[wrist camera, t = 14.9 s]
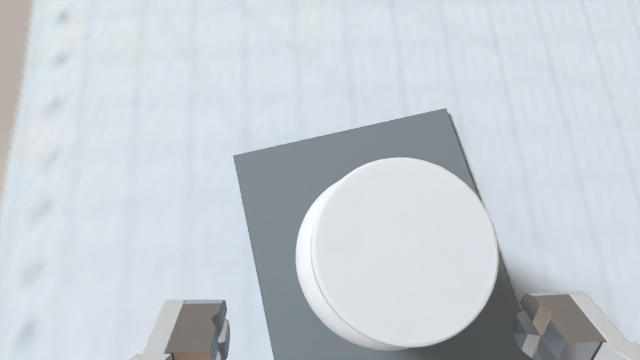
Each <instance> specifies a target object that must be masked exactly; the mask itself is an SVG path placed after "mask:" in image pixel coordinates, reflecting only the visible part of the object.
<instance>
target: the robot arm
mask: <svg viewBox="0 0 640 360" xmlns="http://www.w3.org/2000/svg"><path fill="white" fill-rule="evenodd" d="M520 304H521V305H522V307H523V310H522V311H521V312H519V313H518V314H517V315H516V317H515V320H514V323H513V327H514V335H515V338H516V341H517V343H518V345H519V347H520V349H521V351H523V352H524V353H525V354H527V355H528V356H530V357H531V360H640V345H639V344H638V343H636V342H629V341H628V340H627V339H626V338H625V337H624V336H623V334H622V333H621V332H620V331H619V330H618V329H617V328H616V326H615V325H614V324H613V323H612V322H611V321H610V320H609V318H608V317H607V316H606V315H605V314H604V313H603V312H602V310H601V309H600V308H599V307H598V306H597V305H596V304H595V302H594V301H593V300H592V299H591V298H590V297H589V296H588V295H587V294H585V293H584V292H563V293H561V292H555V293H527V294H526V295H525V296H523V298H522V301H521V303H520ZM226 311H227V308H226V302H225V300H166V302H165V303H164V304H163V305H162V308H161V310H160V312H159V315H158V317H157V319H156V322H155V324H154V327H153V329H152V331H151V334H150V336H149V338H148V341H147V343H146V346H145V348H144V350H143V353H142V354H136V355H135V356H133V357H132V358H131V359H130V360H226V359H227V355H228V350H229V340H230V327H229V321H228V320H227V319H225V316H226Z"/></svg>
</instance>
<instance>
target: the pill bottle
mask: <svg viewBox="0 0 640 360" xmlns="http://www.w3.org/2000/svg"><path fill="white" fill-rule="evenodd" d="M498 264H499V250H498V242H497V237H496V232H495V229H494V226H493V223H492V221H491V219H490V216H489V214H488V212H487V210H486V208H485V207H484V205H483V203H482V202H481V200H480V199H479V198H478V196H477V195H476V194H475V193H474V192H473V190H472V189H471V188H470V187H469V186H468V185H467V184H466V183H464V182H463V181H462V180H461V179H460V178H458V177H457V176H456V175H454V174H453V173H451V172H449V171H448V170H446V169H444V168H443V167H441V166H438V165H436V164H433V163H430V162H427V161H424V160H419V159H414V158H404V157H397V158H387V159H380V160H377V161H373V162H370V163H367V164H365V165H363V166H361V167H359V168H356V169H355V170H353V171H352V172H350V173H349V174H347V175H346V176H345V177H343V178H342V179H341V180H339V181H338V182H336V183H334V184H333V185H331V186H330V187H329V188H328V189H326V190H325V191H324V192H323V193H322V194H321V195H320V196H319V197H318V198H317V199H316V200H315V202H314V203H313V204H312V206H311V207H310V209H309V210H308V212H307V214H306V215H305V217H304V220H303V222H302V224H301V227H300V230H299V233H298V238H297V243H296V270H297V276H298V280H299V283H300V287H301V289H302V292H303V294H304V296H305V298H306V300H307V302H308V304H309V305H310V307H311V308H312V310H313V311H314V313H315V314H316V315H317V316H318V318H319V319H320V320H321V321H322V322H323V323H324V324H325V325H326V326H327V327H328V328H329V329H330V330H331V331H332V332H334V333H335V334H337V335H338V336H340V337H341V338H343V339H345V340H347V341H349V342H351V343H354V344H356V345H359V346H362V347H365V348H369V349H374V350H381V351H396V350H402V349H408V348H416V347H425V346H430V345H435V344H437V343H440V342H443V341H445V340H447V339H450V338H452V337H453V336H455V335H457V334H459V333H460V332H461V331H462V330H464V329H465V328H466V327H467V326H469V325H470V324H471V323H472V322H473V321H474V320H475V319H476V317H477V316H478V315H479V314H480V312H481V311H482V310H483V308H484V307H485V305H486V303H487V302H488V300H489V298H490V296H491V294H492V291H493V288H494V285H495V282H496V279H497V273H498Z"/></svg>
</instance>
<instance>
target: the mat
mask: <svg viewBox="0 0 640 360" xmlns="http://www.w3.org/2000/svg"><path fill="white" fill-rule="evenodd" d="M397 157H404V158H414V159H419V160H424V161H427V162H430V163H433V164H436V165H438V166H441V167H443V168H444V169H446V170H448V171H449V172H451V173H453V174H454V175H456V176H457V177H458V178H460V179H461V180H462V181H463V182H464V183H466V184H467V185H468V186H469V187H470V188H471V189H472V190H473V192H474V193H475V194H476V195H477V192H476V189H475V186H474V184H473V181H472V178H471V175H470V173H469V170H468V167H467V164H466V162H465V159H464V156H463V153H462V151H461V148H460V145H459V142H458V140H457V137H456V134H455V131H454V129H453V126H452V123H451V121H450V118H449V115H448V112H447V110H446V108H445V109H440V110H436V111H431V112H427V113H422V114H418V115H413V116H409V117H404V118H400V119H395V120H391V121H387V122H382V123H378V124H373V125H369V126H364V127H360V128H355V129H351V130H346V131H342V132H337V133H333V134H328V135H324V136H319V137H315V138H310V139H306V140H301V141H297V142H292V143H288V144H283V145H279V146H274V147H270V148H266V149H261V150H257V151H252V152H248V153H243V154H239V155H234V161H235V166H236V171H237V176H238V181H239V186H240V191H241V196H242V201H243V206H244V211H245V216H246V221H247V226H248V231H249V236H250V241H251V246H252V251H253V256H254V261H255V266H256V271H257V276H258V281H259V286H260V291H261V296H262V301H263V306H264V311H265V316H266V321H267V326H268V331H269V336H270V341H271V346H272V351H273V356H274V360H531V357H530V356H528V355H527V354H525V353H524V352H523V351H521V349H520V347H519V345H518V343H517V341H516V338H515V335H514V327H513V323H514V320H515V317H516V315H517V314H518V313H519V312H520V310H519V307H518V304H517V302H516V299H515V296H514V293H513V291H512V288H511V285H510V282H509V280H508V277H507V274H506V271H505V269H504V266H503V263H502V260H501V258H500V255H499V264H498V273H497V279H496V282H495V285H494V288H493V291H492V294H491V296H490V298H489V300H488V302H487V303H486V305H485V307H484V308H483V310H482V311H481V312H480V314H479V315H478V316H477V317H476V319H475V320H474V321H473V322H472V323H471V324H470V325H469V326H467V327H466V328H465V329H464V330H462V331H461V332H460V333H459V334H457V335H455V336H453V337H452V338H450V339H447V340H445V341H443V342H440V343H437V344H435V345H430V346H425V347H416V348H408V349H402V350H396V351H381V350H374V349H369V348H365V347H362V346H359V345H356V344H354V343H351V342H349V341H347V340H345V339H343V338H341V337H340V336H338V335H337V334H335V333H334V332H332V331H331V330H330V329H329V328H328V327H327V326H326V325H325V324H324V323H323V322H322V321H321V320H320V319H319V318H318V316H317V315H316V314H315V313H314V311H313V310H312V308H311V307H310V305H309V304H308V302H307V300H306V298H305V296H304V294H303V292H302V289H301V287H300V283H299V280H298V276H297V270H296V243H297V238H298V233H299V230H300V227H301V224H302V222H303V220H304V217H305V215H306V214H307V212H308V210H309V209H310V207H311V206H312V204H313V203H314V202H315V200H316V199H317V198H318V197H319V196H320V195H321V194H322V193H323V192H324V191H325V190H326V189H328V188H329V187H330V186H331V185H333V184H334V183H336V182H338V181H339V180H341V179H342V178H343V177H345V176H346V175H347V174H349V173H350V172H352V171H353V170H355V169H356V168H359V167H361V166H363V165H365V164H367V163H370V162H373V161H377V160H380V159H387V158H397ZM477 196H478V195H477ZM478 198H479V197H478Z"/></svg>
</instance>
